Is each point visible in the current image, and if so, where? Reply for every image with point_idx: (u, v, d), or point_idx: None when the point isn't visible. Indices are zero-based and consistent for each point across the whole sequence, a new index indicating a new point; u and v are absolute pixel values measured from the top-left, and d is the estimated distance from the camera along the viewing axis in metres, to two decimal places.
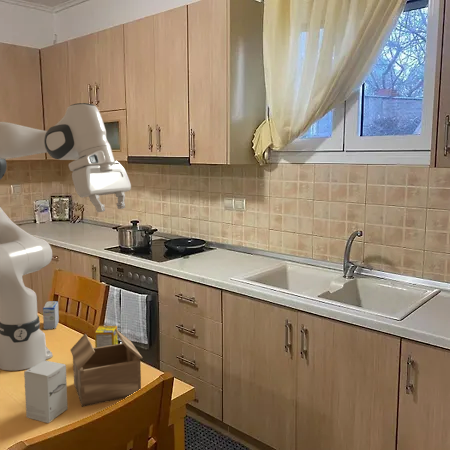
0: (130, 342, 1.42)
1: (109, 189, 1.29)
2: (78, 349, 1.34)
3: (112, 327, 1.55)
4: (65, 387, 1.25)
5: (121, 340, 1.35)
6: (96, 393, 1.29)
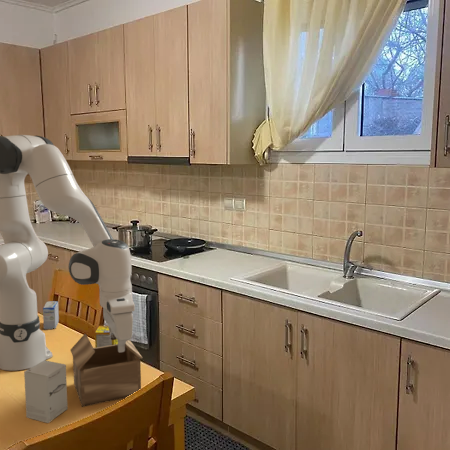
0: (130, 342, 1.42)
1: None
2: (78, 349, 1.34)
3: None
4: (65, 387, 1.25)
5: None
6: (96, 393, 1.29)
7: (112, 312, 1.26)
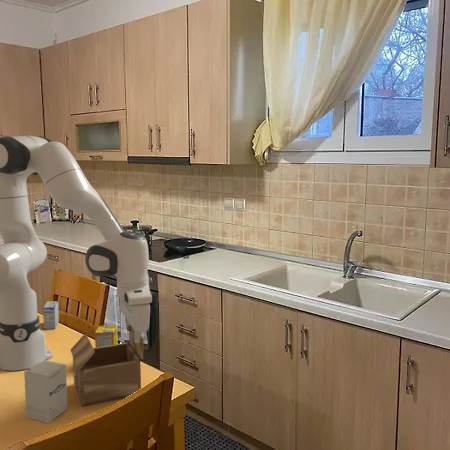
0: (133, 342, 1.42)
1: None
2: (78, 349, 1.34)
3: (112, 327, 1.55)
4: (65, 387, 1.25)
5: None
6: (96, 393, 1.29)
7: (130, 303, 1.27)
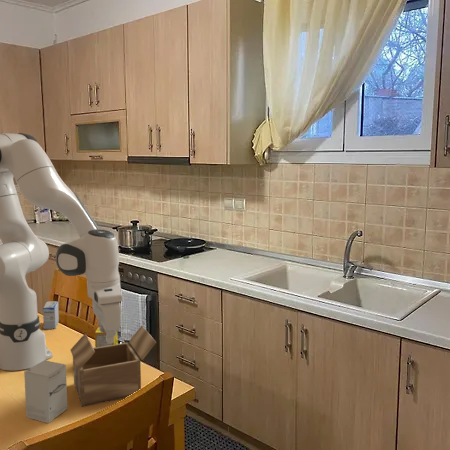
0: None
1: None
2: (78, 349, 1.34)
3: None
4: (65, 387, 1.25)
5: (150, 335, 1.39)
6: (96, 393, 1.29)
7: (99, 302, 1.24)
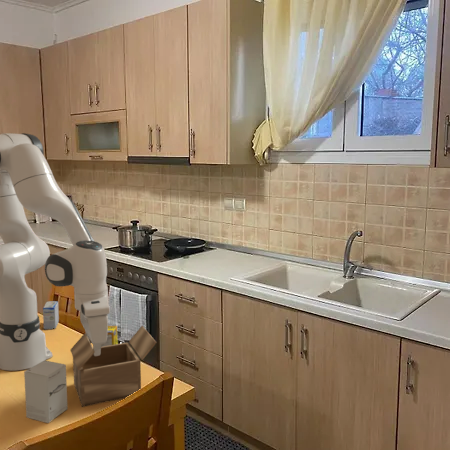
0: None
1: None
2: (78, 349, 1.34)
3: (112, 327, 1.55)
4: (65, 387, 1.25)
5: (150, 335, 1.39)
6: (96, 393, 1.29)
7: (86, 315, 1.23)
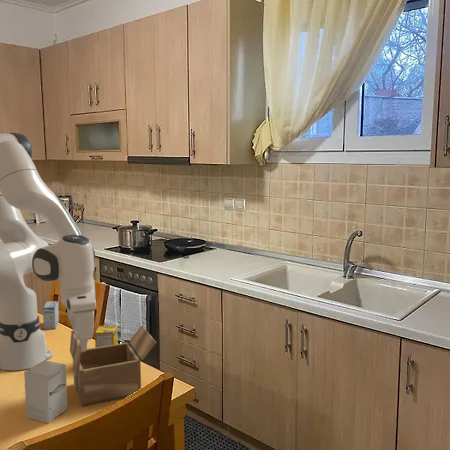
0: None
1: None
2: (72, 349, 1.34)
3: (112, 327, 1.55)
4: (65, 387, 1.25)
5: (150, 335, 1.39)
6: (96, 393, 1.29)
7: (72, 310, 1.21)
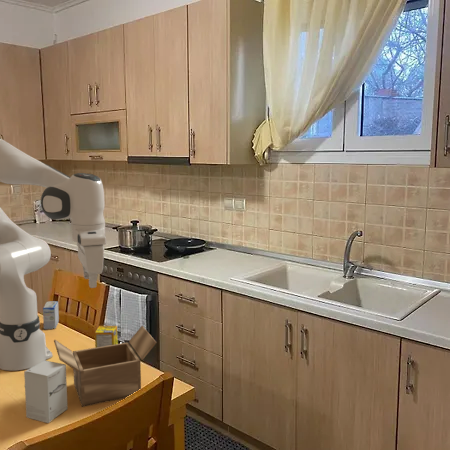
0: None
1: None
2: None
3: (112, 327, 1.55)
4: (65, 387, 1.25)
5: (150, 335, 1.39)
6: (96, 393, 1.29)
7: (82, 244, 1.23)
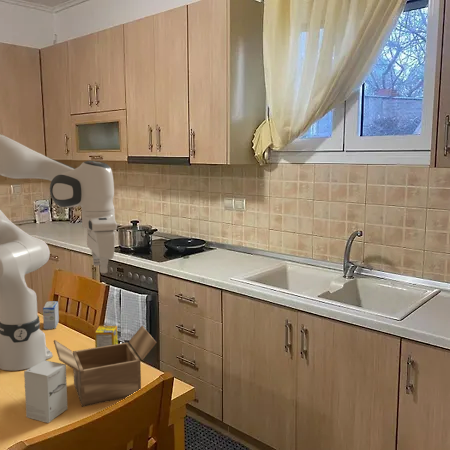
0: None
1: None
2: None
3: (112, 327, 1.55)
4: (65, 387, 1.25)
5: (150, 335, 1.39)
6: (96, 393, 1.29)
7: (94, 229, 1.25)
